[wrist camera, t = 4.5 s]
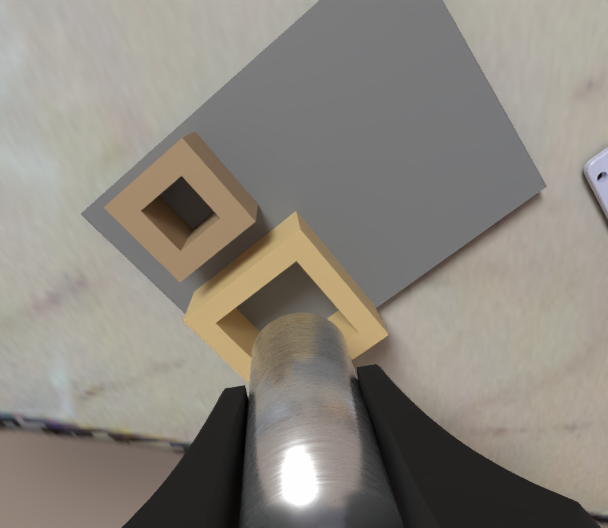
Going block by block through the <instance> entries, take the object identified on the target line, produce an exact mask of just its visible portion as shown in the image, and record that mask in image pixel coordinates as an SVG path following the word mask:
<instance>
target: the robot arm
mask: <svg viewBox="0 0 608 528" xmlns="http://www.w3.org/2000/svg"><path fill="white" fill-rule="evenodd" d="M601 172H602V176H601V178H600V179H599V180H598V181H597V177H598V175H599V174H600V173H601ZM584 175H585V177H586V179H587V181H588V183H589V184H590V186H591V188H592V190H593V192H594V194H595V196H596V198H597V200H598V202H599V204H600V206H601V208H602V210H603V212H604V213H605V215H606V217H607V219H608V147H607V148H606V149H604V150H603V151H602V152H600V153H599V154H597V155H596V156H595V157H593V158H592V159H590V160H589V161H588V162H587V163H586V165H585V166H584ZM357 375H358V381H359V385H360V388H361V391H362V394H363V398H364V401H365V404H366V407H367V410H368V414H369V417H370V420H371V423H372V426H373V430H374V433H375V436H376V439H377V443H378V446H379V449H380V452H381V456H382V459H383V462H384V465H385V468H386V472H387V475H388V478H389V481H390V485H391V488H392V491H393V494H394V498H395V501H396V504H397V507H398V510H399V514H400V517H401V520H402V523H403V527H404V528H601V527H600V526H599V525H598V524H597V522H596V521H595V520H594V519H593V518H592V517H591V516H590V515H589V514H588V513H587V512H586V511H585V510H584V508H583V507H582V506H581V505H580V504H579V503H578V502H576V501H574V500H572V499H569V498H567V497H565V496H562V495H560V494H558V493H555V492H553V491H550V490H548V489H546V488H543V487H541V486H539V485H536V484H534V483H532V482H530V481H528V480H526V479H524V478H522V477H520V476H518V475H516V474H514V473H512V472H510V471H508V470H506V469H504V468H503V467H501V466H499V465H497V464H496V463H494V462H492V461H491V460H489V459H487V458H485V457H484V456H482V455H480V454H479V453H477V452H475V451H474V450H472V449H471V448H469V447H468V446H466V445H465V444H463V443H462V442H461V441H459V440H458V439H456V438H455V437H454V436H452V435H451V434H450V433H448V432H447V431H446V430H444V429H443V428H442V427H441V426H439V425H438V424H437V423H436V422H434V421H433V420H432V419H431V418H430V417H429V416H427V415H426V414H425V413H424V412H423V411H422V410H421V409H420V408H418V407H417V406H416V405H415V404H414V403H413V402H412V401H411V400H410V399H409V398H408V397H407V396H406V395H405V394H404V393H403V392H402V391H401V390H400V389H399V388H398V387H397V386H396V385H395V384H394V383H393V381H392V380H391V379H390V378H389V377H388V376H387V375H386V374H385V372H384V371H383V370H382V369H381V367H379V366H378V365H377V364H375V365H369V366H363V367H357ZM247 410H248V396H247V392H246V388H245V385H244V386H238V387H232V388H226V389H224V391H223V392H222V394H221V396H220V397H219V399H218V401H217V403H216V405H215V407H214V408H213V410H212V412H211V414H210V415H209V417H208V419H207V420H206V422H205V424H204V425H203V427H202V429H201V430H200V432H199V433H198V435H197V437H196V438H195V440H194V441H193V443H192V444H191V446H190V447H189V449H188V450H187V451H186V453H185V454H184V456H183V457H182V459H181V460H180V462H179V463H178V464H177V466H176V467H175V468H174V470H173V471H172V472H171V474H170V475H169V476H168V477H167V479H166V480H165V481H164V482H163V484H162V485H161V486H160V487H159V489H158V490H157V491H156V492H155V493H154V494H153V496H152V497H151V498H150V499H149V500H148V501H147V502H146V503H145V504H144V505H143V506H142V507H141V508H140V509H139V510H138V511H137V512H136V513H135V515H134V516H133V517H132V518H131V519H130V520H129V521H128V522H127V523H126V524H125V525H124V526H123V527H122V528H239V519H240V505H241V492H242V478H243V465H244V451H245V438H246V424H247Z"/></svg>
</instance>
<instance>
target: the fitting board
mask: <svg viewBox="0 0 608 528" xmlns="http://www.w3.org/2000/svg"><path fill="white" fill-rule="evenodd" d="M545 187H547V186H546V184H545V182H544V181H543V179H542V177H541V175H540V173H539V172H538V170H537V168H536V166H535V164H534V163H533V161H532V159H531V157H530V156H529V154H528V152H527V150H526V148H525V147H524V145H523V143H522V141H521V139H520V138H519V136H518V134H517V132H516V131H515V129H514V127H513V125H512V123H511V122H510V120H509V118H508V116H507V114H506V113H505V111H504V109H503V107H502V106H501V104H500V102H499V100H498V98H497V97H496V95H495V93H494V91H493V89H492V88H491V86H490V84H489V82H488V81H487V79H486V77H485V75H484V73H483V72H482V70H481V68H480V66H479V64H478V63H477V61H476V59H475V57H474V56H473V54H472V52H471V50H470V48H469V47H468V45H467V43H466V41H465V39H464V38H463V36H462V34H461V32H460V31H459V29H458V27H457V25H456V23H455V22H454V20H453V18H452V16H451V14H450V13H449V11H448V9H447V7H446V6H445V4H444V2H443V0H319V1H318V2H317V3H316V4H315V5H314V6H313V7H312V8H310V9H309V10H308V11H307V12H306V13H305V14H304V15H303V16H302V17H300V18H299V19H298V20H297V21H296V22H295V23H294V24H293V25H291V26H290V27H289V28H288V29H287V30H286V31H285V32H284V33H283V34H281V35H280V36H279V37H278V38H277V39H276V40H275V41H274V42H272V43H271V44H270V45H269V46H268V47H267V48H266V49H265V50H264V51H262V52H261V53H260V54H259V55H258V56H257V57H256V58H255V59H253V60H252V61H251V62H250V63H249V64H248V65H247V66H246V67H244V68H243V69H242V70H241V71H240V72H239V73H238V74H237V75H236V76H234V77H233V78H232V79H231V80H230V81H229V82H228V83H227V84H225V85H224V86H223V87H222V88H221V89H220V90H219V91H218V92H217V93H215V94H214V95H213V96H212V97H211V98H210V99H209V100H208V101H206V102H205V103H204V104H203V105H202V106H201V107H200V108H199V109H198V110H196V111H195V112H194V113H193V114H192V115H191V116H190V117H189V118H187V119H186V120H185V121H184V122H183V123H182V124H181V125H180V126H179V127H177V128H176V129H175V130H174V131H173V132H172V133H171V134H170V135H168V136H167V137H166V138H165V139H164V140H163V141H162V142H161V143H159V144H158V145H157V146H156V147H155V148H154V149H153V150H152V151H151V152H149V153H148V154H147V155H146V156H145V157H144V158H143V159H142V160H140V161H139V162H138V163H137V164H136V165H135V166H134V167H133V168H132V169H130V170H129V171H128V172H127V173H126V174H125V175H124V176H123V177H121V178H120V179H119V180H118V181H117V182H116V183H115V184H114V185H113V186H111V187H110V188H109V189H108V190H107V191H106V192H105V193H104V194H102V195H101V196H100V197H99V198H98V199H97V200H96V201H95V202H93V203H92V204H91V205H90V206H89V207H88V208H87V209H86V210H85V211H83V212H82V213H81V215H82V216H83V217H84V218H85V219H86V220H87V221H88V222H89V223H91V224H92V225H93V226H94V227H95V228H96V229H97V230H98V231H99V232H100V233H101V234H102V235H103V236H104V237H105V238H106V239H107V240H108V241H109V242H110V243H112V244H113V245H114V246H115V247H116V248H117V249H118V250H119V251H120V252H121V253H122V254H123V255H124V256H125V257H126V258H127V259H128V260H129V261H130V262H131V263H133V264H134V265H135V266H136V267H137V268H138V269H139V270H140V271H141V272H142V273H143V274H144V275H145V276H146V277H147V278H148V279H149V280H150V281H151V282H152V283H154V284H155V285H156V286H157V287H158V288H159V289H160V290H161V291H162V292H163V293H164V294H165V295H166V296H167V297H168V298H169V299H170V300H171V301H172V302H173V303H175V304H176V305H177V306H178V307H179V308H180V309H181V310H182V311H183V312H184V313H185V317H184V319H183V322H184V323H185V324H187V325H188V326H189V327H190V328H191V329H192V330H193V331H194V332H195V333H196V334H197V335H198V336H199V337H200V338H201V339H202V340H204V341H205V342H206V343H207V344H208V345H209V346H210V347H211V348H212V349H213V350H214V351H215V352H216V353H217V354H218V355H219V356H220V357H222V358H223V359H224V360H225V361H226V362H227V363H228V364H229V365H230V366H231V367H232V368H233V369H234V370H235V371H236V372H237V373H239V374H240V375H241V376H242V377H243V378H244V379H245V380H246V381H247V382H248V383H250V370H251V356H252V348H253V344H254V342H255V339H256V338H257V336H258V334H259V333H260V332H261V330H262V329H263V328H264V327H265V326H266V325H268V324H269V323H270V322H272V321H273V320H275V319H277V318H279V317H281V316H284V315H288V314H292V313H311V314H316V315H319V316H322V317H324V318H326V319H328V320H330V321H331V322H333V323H334V324H335V325H336V326H337V327H338V328H339V329H340V330H341V332H342V334H343V335H344V337H345V340H346V343H347V346H348V349H349V352H350V355H351V359H352V360H353V359H355V358H356V357H358V356H359V355H361V354H362V353H363V352H365V351H366V350H368V349H369V348H371V347H372V346H373V345H375V344H376V343H378V342H379V341H381V340H382V339H384V338H385V337H386V336H388V335H389V334H388V332H387V330H386V328H385V326H384V324H383V322H382V320H381V318H380V315H379V313H378V311H377V309H376V308H377V307H378V306H380V305H381V304H383V303H384V302H385V301H387V300H388V299H390V298H391V297H392V296H394V295H395V294H397V293H398V292H399V291H401V290H402V289H404V288H405V287H407V286H408V285H409V284H411V283H412V282H414V281H415V280H416V279H418V278H419V277H421V276H422V275H423V274H425V273H426V272H428V271H429V270H430V269H432V268H433V267H435V266H436V265H437V264H439V263H440V262H442V261H443V260H444V259H446V258H447V257H449V256H450V255H451V254H453V253H454V252H456V251H457V250H458V249H460V248H461V247H463V246H464V245H465V244H467V243H468V242H470V241H471V240H472V239H474V238H475V237H477V236H478V235H479V234H481V233H482V232H484V231H485V230H486V229H488V228H489V227H491V226H492V225H493V224H495V223H496V222H498V221H499V220H500V219H502V218H503V217H505V216H506V215H508V214H509V213H510V212H512V211H513V210H515V209H516V208H517V207H519V206H520V205H522V204H523V203H524V202H526V201H527V200H529V199H530V198H531V197H533V196H534V195H536V194H537V193H538V192H540V191H541V190H543V189H544V188H545Z"/></svg>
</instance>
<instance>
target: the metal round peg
mask: <svg viewBox="0 0 608 528" xmlns="http://www.w3.org/2000/svg"><path fill="white" fill-rule="evenodd" d="M239 528H404V527H403V523H402V520H401V517H400V514H399V510H398V507H397V504H396V501H395V498H394V494H393V491H392V488H391V485H390V481H389V478H388V475H387V472H386V468H385V465H384V462H383V459H382V456H381V452H380V449H379V446H378V443H377V439H376V436H375V433H374V430H373V426H372V423H371V420H370V417H369V414H368V410H367V407H366V404H365V401H364V398H363V394H362V391H361V388H360V385H359V381H358V378H357V375H356V372H355V368H354V365H353V362H352V359H351V355H350V352H349V349H348V346H347V343H346V340H345V337H344V335H343V334H342V332H341V330H340V329H339V328H338V327H337V326H336V325H335V324H334V323H333V322H331V321H330V320H328V319H326V318H324V317H322V316H319V315H316V314H311V313H292V314H288V315H284V316H281V317H279V318H277V319H275V320H273V321H272V322H270V323H269V324H268V325H266V326H265V327H264V328H263V329H262V330H261V332H260V333H259V334H258V336H257V338H256V339H255V342H254V344H253V348H252V356H251V370H250V383H249V397H248V410H247V424H246V438H245V451H244V465H243V478H242V492H241V505H240V519H239Z"/></svg>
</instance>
